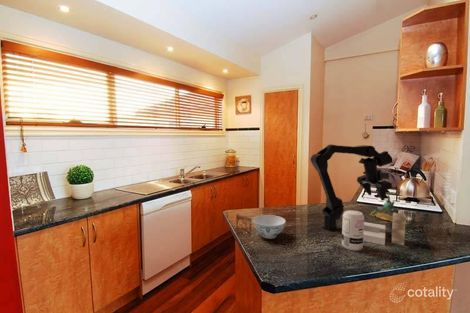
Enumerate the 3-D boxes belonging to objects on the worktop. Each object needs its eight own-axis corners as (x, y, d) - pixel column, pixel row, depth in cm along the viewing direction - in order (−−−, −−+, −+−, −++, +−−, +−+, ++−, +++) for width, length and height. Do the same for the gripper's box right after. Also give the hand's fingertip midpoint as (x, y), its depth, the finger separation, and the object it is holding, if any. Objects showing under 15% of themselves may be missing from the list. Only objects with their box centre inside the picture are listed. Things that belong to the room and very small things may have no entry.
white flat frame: (354, 239, 114) (354, 232, 114) (358, 226, 130) (358, 220, 129) (384, 245, 108) (385, 237, 108) (385, 231, 123) (385, 224, 123)
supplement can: (344, 241, 112) (346, 208, 111) (364, 246, 107) (366, 212, 106) (339, 247, 106) (340, 213, 105) (360, 253, 101) (361, 217, 99)
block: (391, 243, 110) (393, 215, 109) (391, 239, 114) (393, 212, 113) (404, 245, 108) (405, 217, 107) (403, 241, 112) (405, 214, 111)
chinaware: (260, 244, 109) (260, 227, 109) (249, 231, 124) (249, 216, 123) (291, 240, 113) (291, 223, 112) (276, 228, 128) (277, 213, 127)
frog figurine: (377, 213, 152) (381, 190, 150) (407, 226, 136) (412, 200, 133) (366, 215, 149) (370, 191, 146) (395, 228, 132) (400, 202, 130)
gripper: (399, 167, 118) (404, 198, 121) (372, 161, 137) (377, 188, 139) (378, 174, 117) (384, 205, 120) (353, 167, 135) (359, 194, 138)
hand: (376, 197), depth 129 cm, fingers open, 9 cm apart
